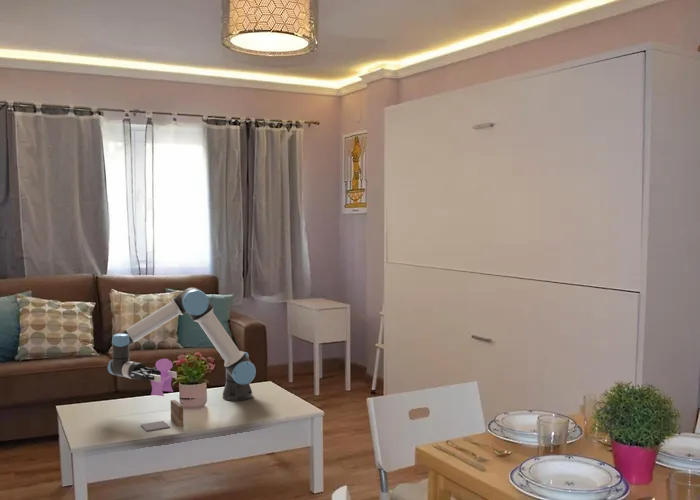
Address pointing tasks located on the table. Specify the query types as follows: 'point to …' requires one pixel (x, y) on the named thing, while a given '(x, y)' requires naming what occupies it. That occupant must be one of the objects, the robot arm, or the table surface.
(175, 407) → the brown wooden slab
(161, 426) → the coaster
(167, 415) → the table surface
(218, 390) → the table surface
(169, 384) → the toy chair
